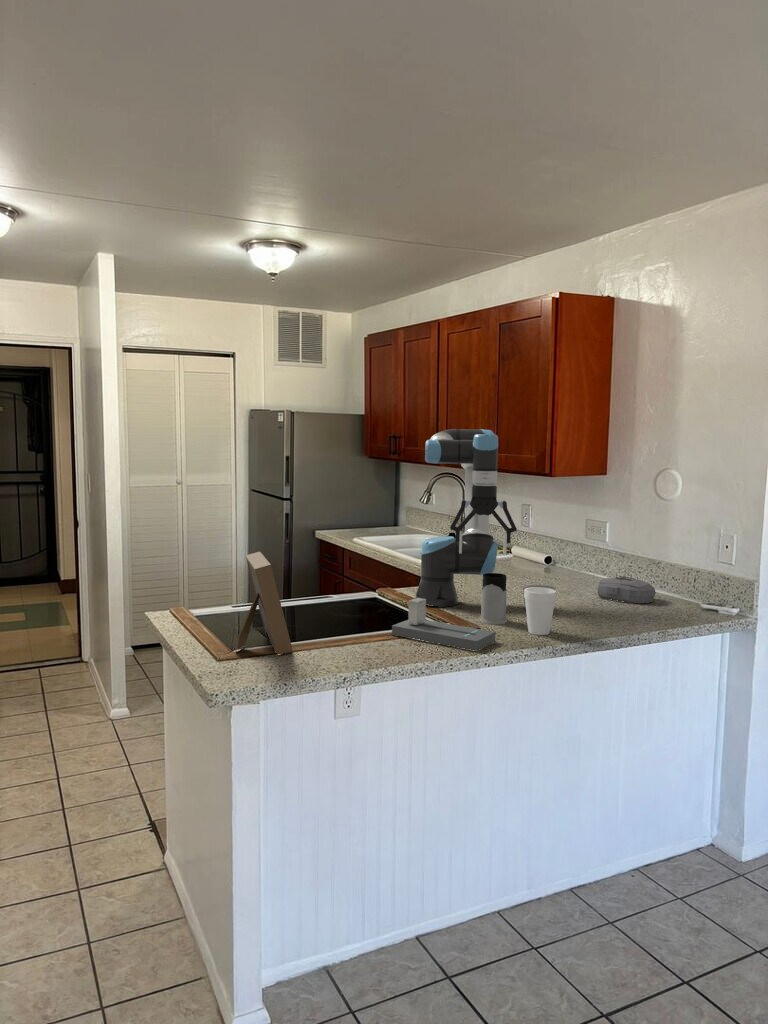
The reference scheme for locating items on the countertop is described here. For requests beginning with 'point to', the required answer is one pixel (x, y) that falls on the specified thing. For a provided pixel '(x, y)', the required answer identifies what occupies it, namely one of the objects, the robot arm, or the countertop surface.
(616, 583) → the soft grey pack
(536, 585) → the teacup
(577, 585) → the countertop surface
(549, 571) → the countertop surface
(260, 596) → the photo frame
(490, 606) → the glass holder
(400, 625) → the fader console
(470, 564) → the robot arm
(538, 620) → the foam cup
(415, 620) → the fader knob
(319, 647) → the countertop surface
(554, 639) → the countertop surface
